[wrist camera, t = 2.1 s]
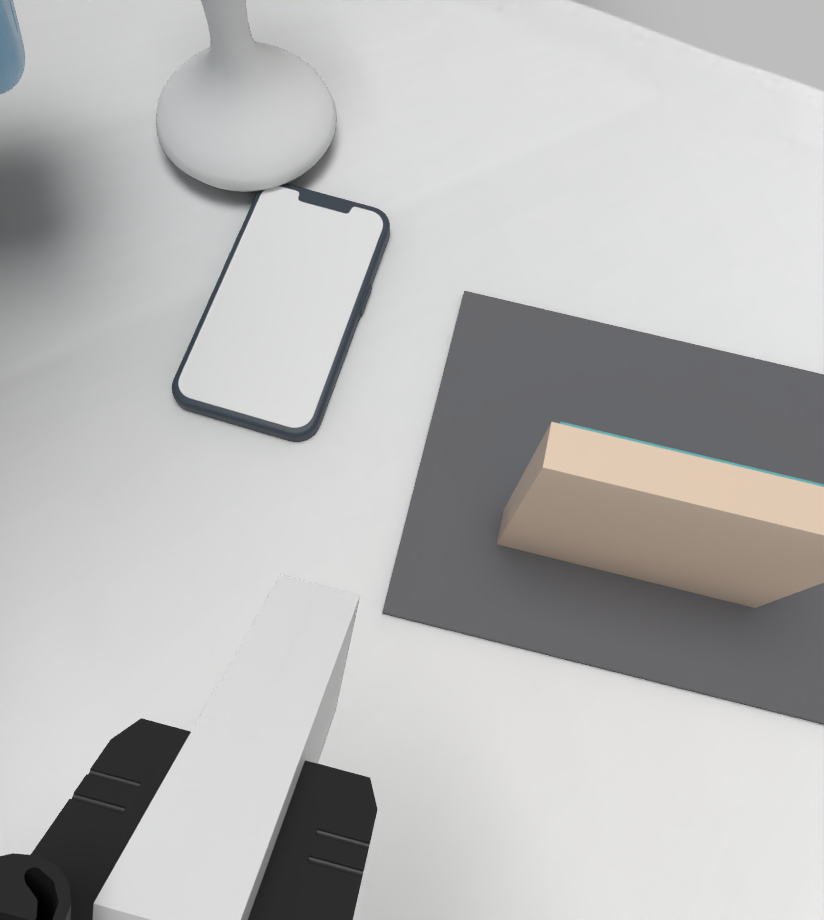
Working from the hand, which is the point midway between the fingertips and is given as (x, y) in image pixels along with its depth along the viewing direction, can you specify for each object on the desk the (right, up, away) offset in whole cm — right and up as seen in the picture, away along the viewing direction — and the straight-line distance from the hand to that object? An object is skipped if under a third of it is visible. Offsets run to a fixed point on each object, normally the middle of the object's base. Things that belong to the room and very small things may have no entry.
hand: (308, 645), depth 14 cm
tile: (+14, -2, +27) cm, 30 cm away
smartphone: (-6, +12, +32) cm, 35 cm away
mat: (+14, +2, +29) cm, 32 cm away
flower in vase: (-9, +25, +37) cm, 45 cm away
